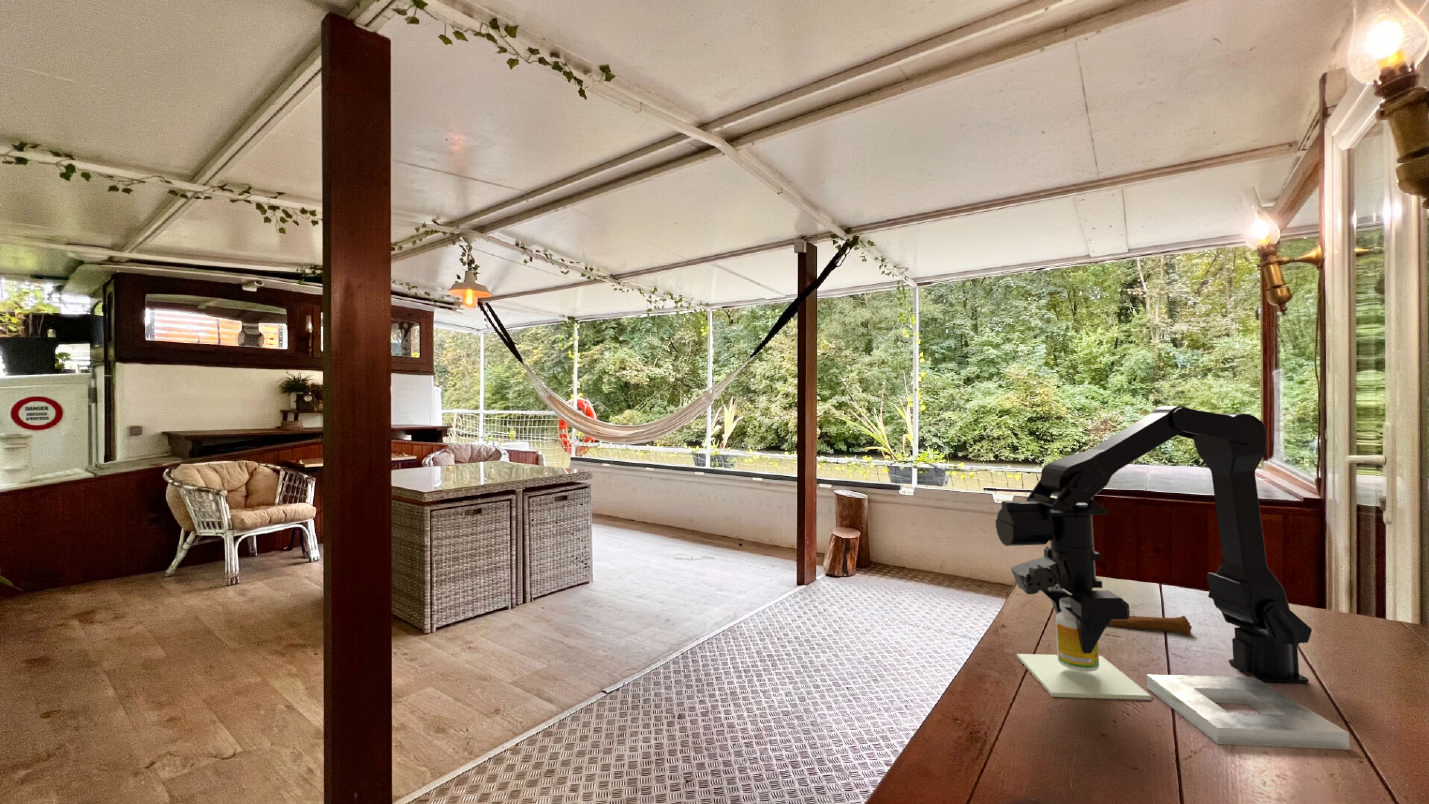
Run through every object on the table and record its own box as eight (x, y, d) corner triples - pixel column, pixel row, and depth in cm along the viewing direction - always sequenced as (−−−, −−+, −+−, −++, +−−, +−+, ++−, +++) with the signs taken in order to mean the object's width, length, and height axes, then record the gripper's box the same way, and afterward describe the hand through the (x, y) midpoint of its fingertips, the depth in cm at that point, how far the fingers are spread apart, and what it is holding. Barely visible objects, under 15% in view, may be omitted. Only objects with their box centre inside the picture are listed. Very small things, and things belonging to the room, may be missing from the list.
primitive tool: (1065, 623, 109) (1065, 605, 109) (1064, 614, 113) (1063, 597, 113) (1194, 640, 99) (1193, 620, 99) (1186, 630, 104) (1185, 610, 104)
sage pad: (1101, 659, 92) (1101, 655, 92) (1150, 699, 79) (1150, 695, 79) (1017, 657, 94) (1016, 653, 94) (1052, 696, 81) (1051, 692, 81)
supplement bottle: (1103, 674, 83) (1099, 608, 83) (1061, 670, 85) (1057, 605, 85) (1094, 659, 88) (1090, 597, 88) (1054, 655, 90) (1051, 594, 90)
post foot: (1254, 691, 81) (1253, 677, 81) (1349, 749, 67) (1348, 732, 67) (1147, 688, 83) (1146, 674, 83) (1218, 744, 69) (1217, 727, 69)
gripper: (995, 531, 97) (1000, 621, 97) (1041, 559, 79) (1048, 671, 79) (1064, 530, 96) (1069, 622, 96) (1128, 559, 77) (1135, 673, 77)
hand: (1077, 644), depth 87 cm, fingers closed on supplement bottle, 5 cm apart
